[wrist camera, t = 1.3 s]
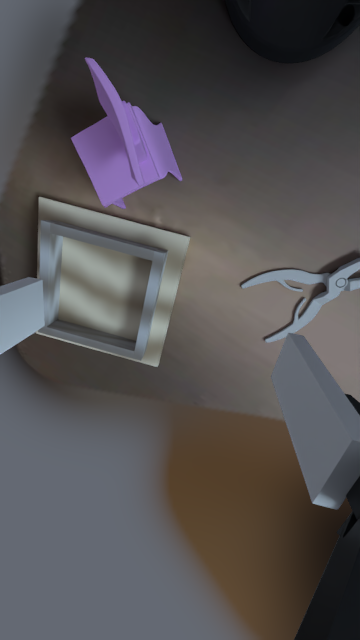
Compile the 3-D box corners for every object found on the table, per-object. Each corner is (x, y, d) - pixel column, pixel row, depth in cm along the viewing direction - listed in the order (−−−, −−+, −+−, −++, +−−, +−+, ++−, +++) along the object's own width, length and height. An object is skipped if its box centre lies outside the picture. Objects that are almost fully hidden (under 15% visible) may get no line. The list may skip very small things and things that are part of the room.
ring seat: (43, 197, 33) (22, 194, 29) (190, 236, 33) (187, 239, 29) (39, 330, 41) (22, 341, 37) (158, 363, 41) (153, 378, 37)
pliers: (241, 285, 33) (363, 230, 29) (240, 282, 35) (356, 230, 31) (268, 346, 36) (383, 304, 32) (265, 341, 37) (376, 300, 33)
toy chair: (92, 150, 31) (-6, 93, 17) (157, 112, 28) (106, 11, 15) (124, 218, 33) (60, 218, 19) (185, 188, 31) (164, 163, 17)
